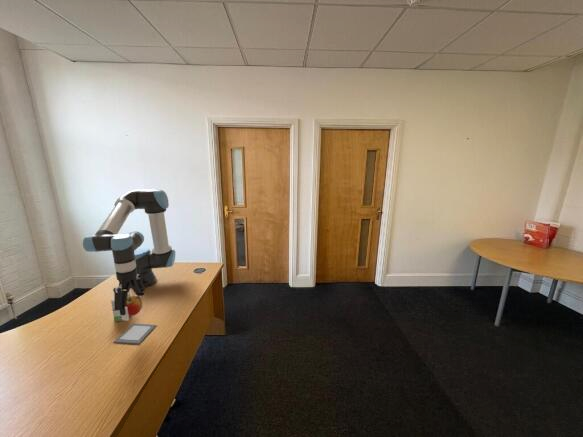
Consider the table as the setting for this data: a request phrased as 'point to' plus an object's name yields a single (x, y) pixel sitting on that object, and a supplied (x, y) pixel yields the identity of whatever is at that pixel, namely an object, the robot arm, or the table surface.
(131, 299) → the apple
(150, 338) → the table surface
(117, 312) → the ink box
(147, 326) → the coaster
